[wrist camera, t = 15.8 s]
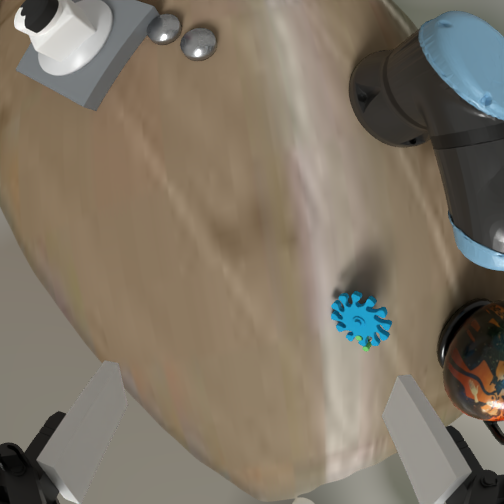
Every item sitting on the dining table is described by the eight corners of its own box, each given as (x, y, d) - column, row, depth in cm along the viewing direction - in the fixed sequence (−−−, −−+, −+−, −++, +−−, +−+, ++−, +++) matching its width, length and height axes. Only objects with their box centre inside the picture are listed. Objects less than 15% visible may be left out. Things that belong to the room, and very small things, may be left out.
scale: (84, -9, 32) (72, -20, 27) (163, 15, 34) (154, 0, 29) (28, 74, 36) (12, 68, 31) (96, 110, 38) (79, 105, 33)
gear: (323, 292, 43) (386, 301, 36) (341, 271, 47) (400, 277, 40) (334, 346, 47) (389, 359, 40) (351, 324, 51) (402, 334, 44)
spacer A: (195, 29, 35) (192, 23, 33) (223, 40, 36) (222, 35, 34) (176, 54, 36) (173, 49, 34) (205, 66, 37) (203, 61, 35)
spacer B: (162, 16, 34) (159, 10, 33) (188, 24, 35) (185, 19, 33) (144, 40, 36) (140, 35, 34) (170, 49, 36) (166, 44, 34)
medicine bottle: (82, 8, 29) (43, -23, 17) (97, 32, 30) (55, 0, 19) (49, 38, 30) (4, 15, 18) (61, 63, 31) (13, 41, 20)
